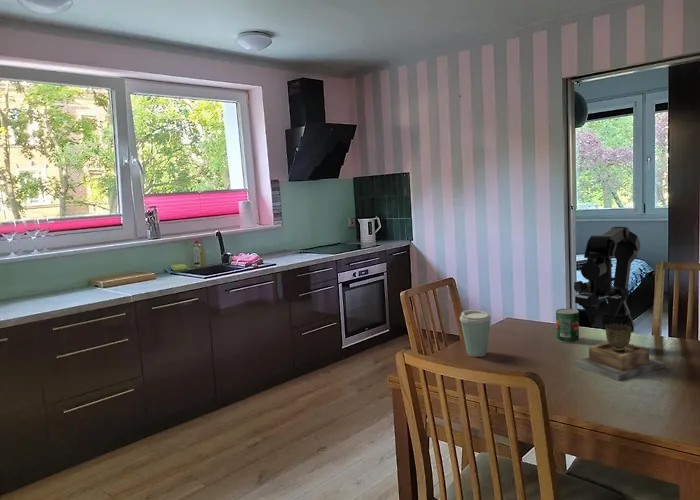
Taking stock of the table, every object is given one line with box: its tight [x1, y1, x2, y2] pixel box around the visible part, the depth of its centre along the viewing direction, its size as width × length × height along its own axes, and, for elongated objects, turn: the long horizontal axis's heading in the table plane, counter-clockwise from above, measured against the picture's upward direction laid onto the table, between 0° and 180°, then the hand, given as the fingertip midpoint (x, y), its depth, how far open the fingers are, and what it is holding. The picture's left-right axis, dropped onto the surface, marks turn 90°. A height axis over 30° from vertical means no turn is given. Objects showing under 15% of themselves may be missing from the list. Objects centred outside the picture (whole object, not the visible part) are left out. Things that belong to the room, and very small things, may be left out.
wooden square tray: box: [574, 341, 665, 382], centre depth 167 cm, size 20×16×6 cm
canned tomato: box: [555, 308, 580, 344], centre depth 197 cm, size 8×8×11 cm
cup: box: [604, 323, 632, 352], centre depth 167 cm, size 8×7×8 cm
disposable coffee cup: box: [458, 309, 492, 358], centre depth 187 cm, size 11×11×15 cm
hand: (602, 321), depth 173 cm, fingers open, 9 cm apart
